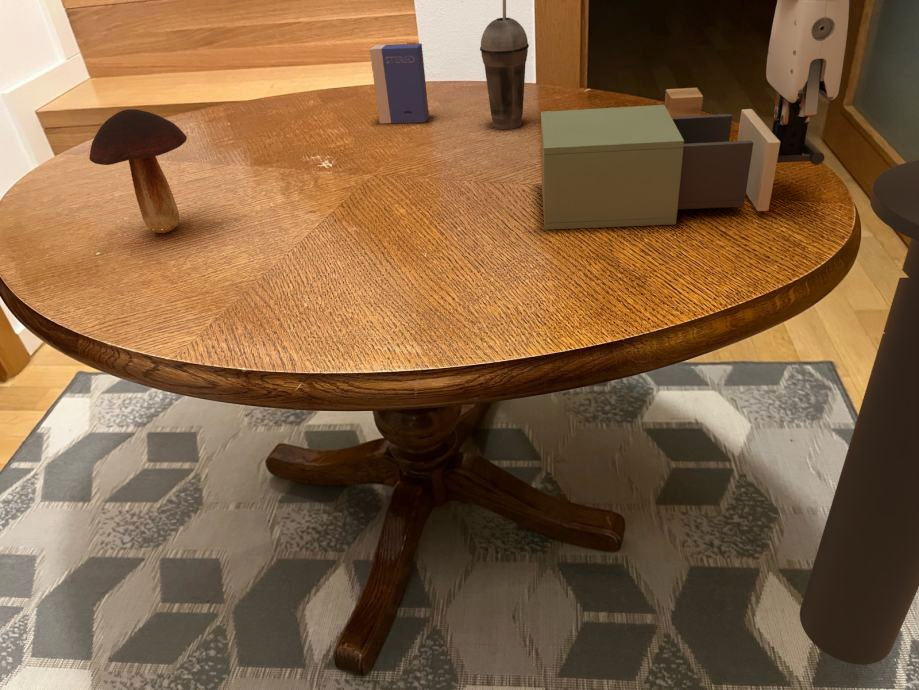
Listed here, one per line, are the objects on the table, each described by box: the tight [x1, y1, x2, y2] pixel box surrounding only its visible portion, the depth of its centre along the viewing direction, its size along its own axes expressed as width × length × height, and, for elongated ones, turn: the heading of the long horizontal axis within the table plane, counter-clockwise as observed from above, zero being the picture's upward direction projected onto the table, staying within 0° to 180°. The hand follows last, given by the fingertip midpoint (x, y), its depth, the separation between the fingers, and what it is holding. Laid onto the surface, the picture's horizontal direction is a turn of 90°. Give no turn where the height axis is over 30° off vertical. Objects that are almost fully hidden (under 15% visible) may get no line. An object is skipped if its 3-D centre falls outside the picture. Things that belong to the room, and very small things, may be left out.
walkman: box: [369, 41, 430, 124], centre depth 117 cm, size 8×3×12 cm, turn 79°
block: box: [664, 87, 704, 117], centre depth 108 cm, size 4×4×4 cm
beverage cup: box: [479, 0, 530, 130], centre depth 109 cm, size 7×7×20 cm
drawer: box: [671, 108, 825, 212], centre depth 83 cm, size 19×11×8 cm, turn 86°
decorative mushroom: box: [88, 108, 188, 234], centre depth 87 cm, size 11×11×15 cm
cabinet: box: [540, 104, 684, 231], centre depth 85 cm, size 15×13×10 cm
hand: (785, 156), depth 83 cm, fingers closed
